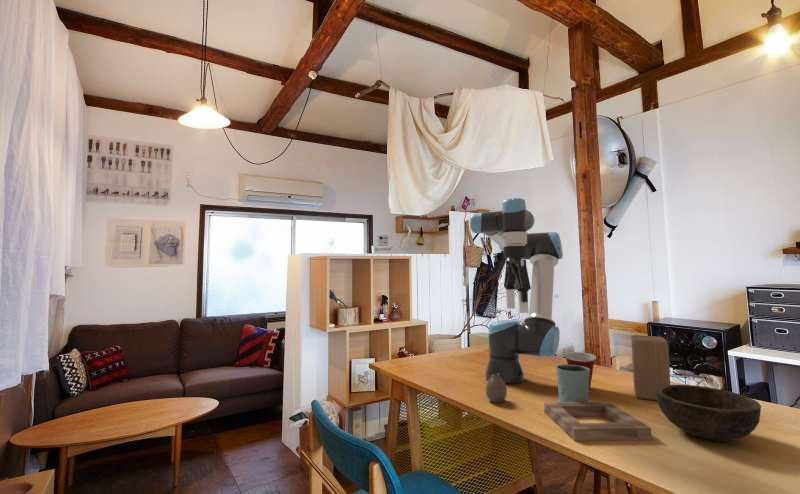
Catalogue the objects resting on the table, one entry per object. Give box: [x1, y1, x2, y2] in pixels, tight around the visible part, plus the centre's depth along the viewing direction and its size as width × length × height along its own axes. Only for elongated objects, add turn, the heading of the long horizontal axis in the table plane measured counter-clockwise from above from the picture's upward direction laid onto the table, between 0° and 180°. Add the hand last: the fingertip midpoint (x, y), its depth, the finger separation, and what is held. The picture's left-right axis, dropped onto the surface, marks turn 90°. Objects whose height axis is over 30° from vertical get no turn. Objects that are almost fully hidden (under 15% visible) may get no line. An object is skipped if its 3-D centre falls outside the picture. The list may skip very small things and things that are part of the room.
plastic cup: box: [564, 351, 597, 390], centre depth 143 cm, size 11×11×12 cm
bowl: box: [656, 384, 762, 442], centre depth 101 cm, size 22×22×10 cm
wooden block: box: [631, 334, 671, 402], centre depth 133 cm, size 10×10×20 cm
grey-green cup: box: [555, 363, 590, 402], centre depth 125 cm, size 10×10×12 cm
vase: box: [485, 374, 508, 404], centre depth 130 cm, size 7×7×9 cm
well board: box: [543, 400, 653, 442], centre depth 109 cm, size 20×20×3 cm
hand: (516, 310), depth 126 cm, fingers open, 13 cm apart
